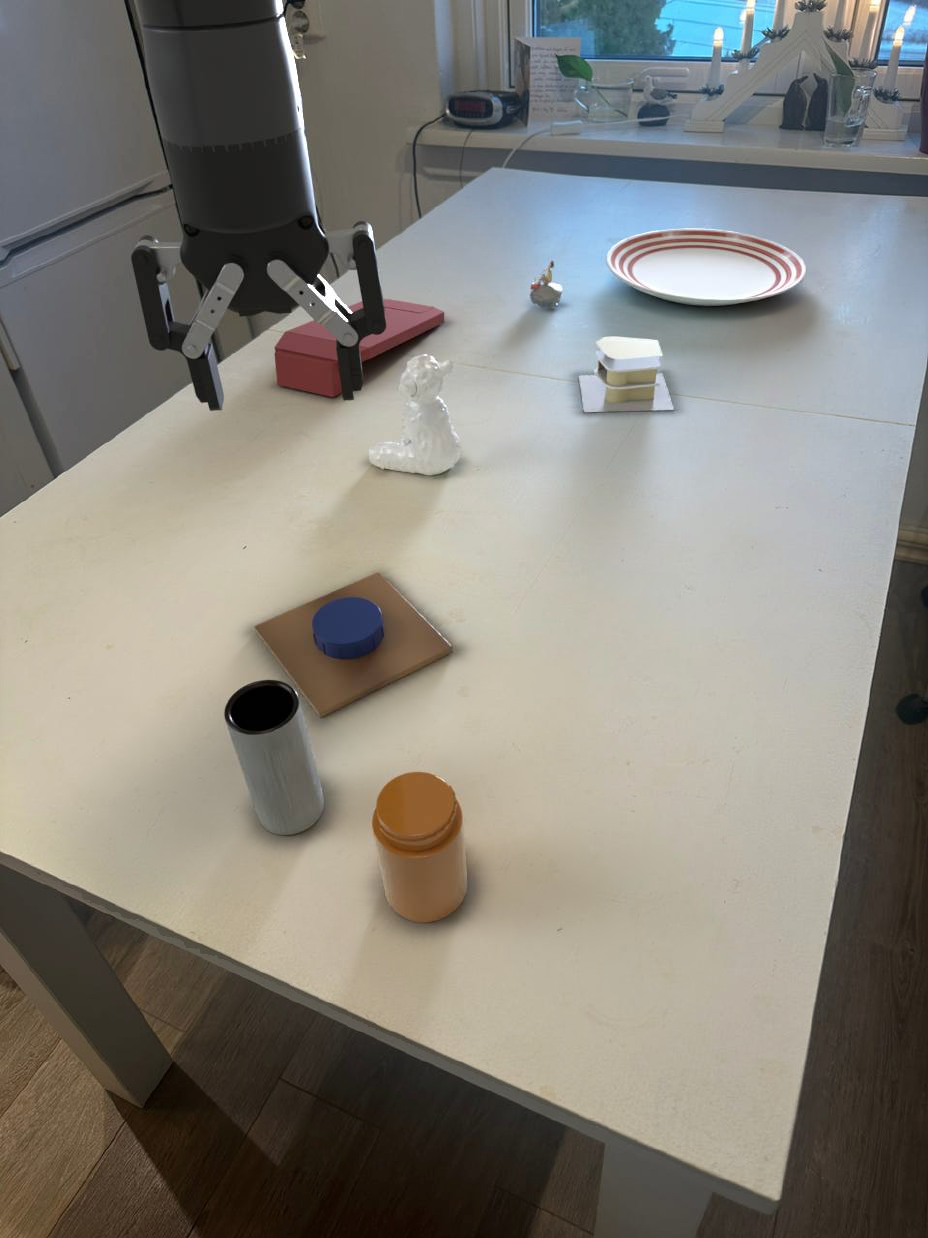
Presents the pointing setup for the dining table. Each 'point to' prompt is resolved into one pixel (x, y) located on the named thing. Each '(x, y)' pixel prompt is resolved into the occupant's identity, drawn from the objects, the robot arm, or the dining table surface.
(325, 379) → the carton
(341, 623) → the jar lid
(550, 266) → the figurine
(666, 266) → the dinner plate
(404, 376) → the white creature statuette
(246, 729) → the grey tumbler
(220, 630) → the dining table surface
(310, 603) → the cork coaster
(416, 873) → the honey jar
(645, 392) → the stacked layers on plate
